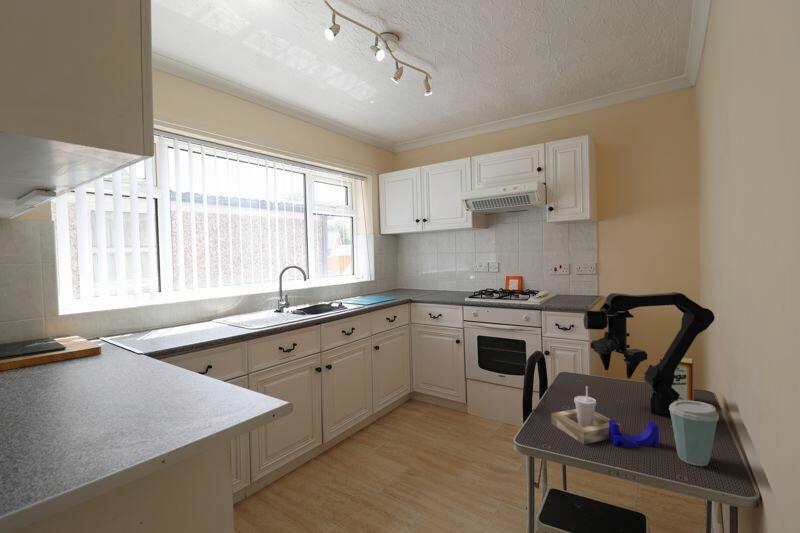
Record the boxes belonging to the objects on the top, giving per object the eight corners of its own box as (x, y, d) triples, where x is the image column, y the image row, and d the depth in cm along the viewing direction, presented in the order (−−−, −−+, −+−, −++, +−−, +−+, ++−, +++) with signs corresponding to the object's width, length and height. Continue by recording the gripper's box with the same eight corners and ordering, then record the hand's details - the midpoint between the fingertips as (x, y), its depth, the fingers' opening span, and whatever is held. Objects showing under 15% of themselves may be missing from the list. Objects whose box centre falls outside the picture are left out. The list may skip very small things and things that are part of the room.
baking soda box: (693, 401, 138) (693, 358, 137) (692, 407, 133) (692, 362, 132) (662, 395, 144) (662, 354, 144) (660, 400, 139) (660, 358, 139)
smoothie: (597, 436, 115) (596, 391, 114) (574, 432, 118) (573, 388, 117) (596, 427, 121) (596, 384, 120) (574, 423, 123) (574, 381, 123)
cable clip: (614, 447, 109) (614, 426, 108) (609, 439, 113) (609, 419, 113) (661, 450, 106) (661, 429, 106) (653, 442, 111) (653, 422, 111)
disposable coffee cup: (670, 464, 99) (670, 408, 99) (667, 445, 108) (667, 394, 108) (722, 475, 94) (723, 416, 93) (714, 454, 103) (714, 401, 102)
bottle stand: (586, 417, 128) (586, 406, 128) (621, 436, 114) (621, 424, 114) (551, 423, 124) (551, 413, 124) (583, 444, 110) (583, 432, 110)
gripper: (578, 326, 138) (578, 368, 138) (621, 337, 120) (622, 386, 120) (602, 324, 141) (603, 365, 141) (648, 334, 123) (648, 381, 124)
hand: (617, 373), depth 132 cm, fingers open, 9 cm apart
